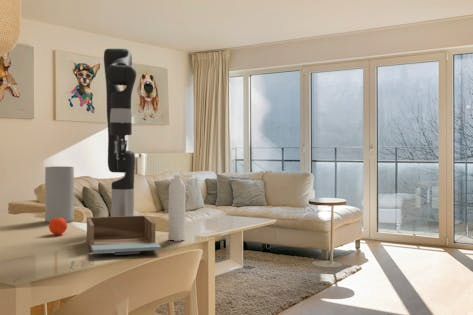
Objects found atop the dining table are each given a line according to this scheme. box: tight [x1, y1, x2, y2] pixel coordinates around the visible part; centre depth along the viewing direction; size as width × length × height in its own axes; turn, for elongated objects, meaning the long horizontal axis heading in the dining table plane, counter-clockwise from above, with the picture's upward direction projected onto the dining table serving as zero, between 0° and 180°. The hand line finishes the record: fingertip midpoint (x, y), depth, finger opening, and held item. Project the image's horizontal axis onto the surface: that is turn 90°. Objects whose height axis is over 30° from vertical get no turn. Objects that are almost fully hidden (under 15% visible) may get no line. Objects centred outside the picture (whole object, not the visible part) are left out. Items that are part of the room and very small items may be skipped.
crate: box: [86, 215, 156, 253], centre depth 201 cm, size 20×22×9 cm
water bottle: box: [167, 173, 192, 242], centre depth 212 cm, size 9×6×25 cm
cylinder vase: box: [44, 165, 75, 224], centre depth 257 cm, size 12×12×25 cm
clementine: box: [48, 217, 68, 236], centre depth 222 cm, size 8×7×7 cm
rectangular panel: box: [91, 241, 162, 256], centre depth 185 cm, size 2×22×10 cm
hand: (120, 170), depth 199 cm, fingers closed
